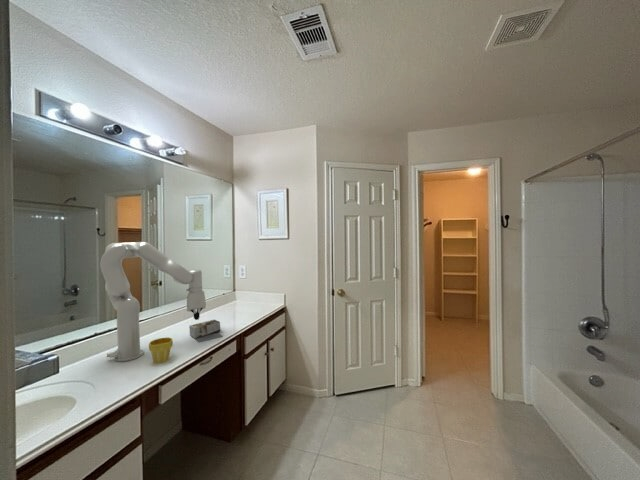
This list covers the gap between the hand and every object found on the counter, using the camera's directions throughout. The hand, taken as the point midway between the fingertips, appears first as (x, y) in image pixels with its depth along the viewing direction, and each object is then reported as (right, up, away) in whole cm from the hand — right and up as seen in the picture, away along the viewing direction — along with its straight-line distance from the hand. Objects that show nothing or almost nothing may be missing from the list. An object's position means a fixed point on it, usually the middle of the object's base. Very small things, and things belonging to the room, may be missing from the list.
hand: (196, 319), depth 167 cm
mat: (+4, -11, +3) cm, 12 cm away
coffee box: (-3, -8, -1) cm, 8 cm away
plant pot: (-4, -12, -31) cm, 33 cm away
